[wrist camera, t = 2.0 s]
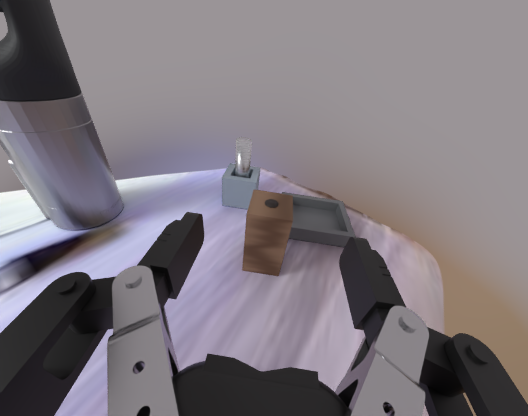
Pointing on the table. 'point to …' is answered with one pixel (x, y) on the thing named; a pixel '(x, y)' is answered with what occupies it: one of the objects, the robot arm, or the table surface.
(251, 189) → the square socket block
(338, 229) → the tray
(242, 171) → the cylinder
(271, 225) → the walnut block
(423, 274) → the table surface
